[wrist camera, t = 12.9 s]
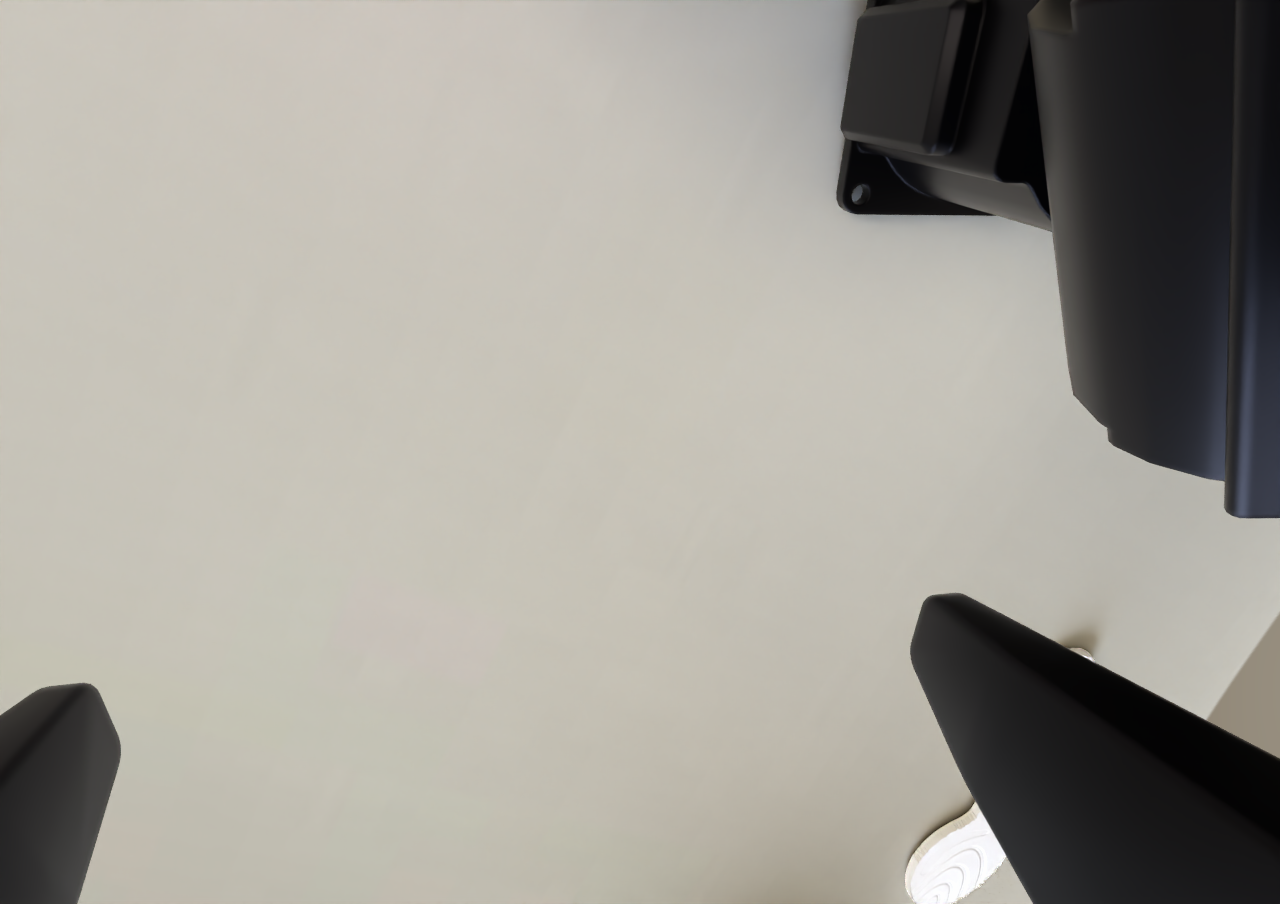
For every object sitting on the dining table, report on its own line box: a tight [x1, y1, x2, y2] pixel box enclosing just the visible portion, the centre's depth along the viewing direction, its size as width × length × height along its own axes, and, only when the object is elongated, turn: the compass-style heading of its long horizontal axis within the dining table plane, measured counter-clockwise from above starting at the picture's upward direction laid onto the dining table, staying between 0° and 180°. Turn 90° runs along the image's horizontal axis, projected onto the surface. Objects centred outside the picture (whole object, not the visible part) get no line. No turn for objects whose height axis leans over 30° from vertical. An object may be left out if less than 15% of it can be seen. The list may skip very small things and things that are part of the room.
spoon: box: [905, 648, 1096, 904], centre depth 34 cm, size 5×18×1 cm, turn 170°
